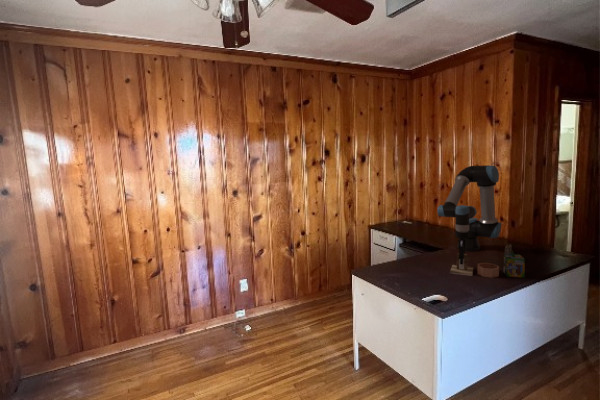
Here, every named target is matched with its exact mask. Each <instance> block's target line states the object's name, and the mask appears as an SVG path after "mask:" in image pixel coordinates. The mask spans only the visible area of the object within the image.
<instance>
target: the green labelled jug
mask: <svg viewBox="0 0 600 400" xmlns="http://www.w3.org/2000/svg"><path fill="white" fill-rule="evenodd" d="M502 259H503V262H502V263H503V267H502V268H503V269H502V271H503V274H504V276H506V278H522V279H525V278H526V274H525V273H526V266H525V265H526V263H525V262H526V261H525V260H526V258H525V257H524V256H523V255H522V254H515V253H514V251H513V249H512V250H511V254H505V253H503V258H502Z"/></svg>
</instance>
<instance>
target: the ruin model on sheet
mask: <svg viewBox="0 0 600 400" xmlns="http://www.w3.org/2000/svg"><path fill="white" fill-rule="evenodd" d="M512 246H513V245H512V244H511V243H507V244H506V245H505V247H504V254H512V252H511V250H512V251H513V249H512Z"/></svg>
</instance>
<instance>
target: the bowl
mask: <svg viewBox="0 0 600 400" xmlns="http://www.w3.org/2000/svg"><path fill="white" fill-rule="evenodd" d="M477 275H479V276H482V277H484V278H485V277H486V278H498V277H499V276H500V265H497V264H496V263H491V262H490V263H489V262H480V263H477Z"/></svg>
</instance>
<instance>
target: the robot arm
mask: <svg viewBox="0 0 600 400" xmlns="http://www.w3.org/2000/svg"><path fill="white" fill-rule="evenodd" d="M499 180H500V173H499V170H498V167H497V166H496V165H490V164H489V165H488V164H487V165H469V166H466V167H464V168H463V169H461V170H460V171H459V172H458V173H457V175H456V176H455V178H454V184H453V186H452V188H451V190H450V192H449V194H448V196H447V198H446V199H445V202H444V204H440V205H438V206H437V214H438V216H439V217H445V218H455V225H454V227H455V232H454V233H455V236H454V237H455V238H457V239H458V242H457V249H458V253H459V258H458V259H459V269H464V254H466V252H476V251H480V249H481V247H480V242H479V240H478V237H481V238H488V239H498V238H499V236H500V234H501V230H502V223H501V222H499V219H498V218H497V217H496V208H495V207H496V205H495V203H496V202H495V188H494V187H495V186H496V185H497V183H498V182H499ZM470 183H476V186H477V187H478V189H479V200H480V215H481V217H480V218H479V219H478V218H477V217H475V216H476V215H477V214H478V212H477V211H478V210H477V209H476V207H474V206H473V205H466V204H465V205H463V204H462V205H458V204H459V202H460V199H461V198H462V196H463V194H464V192H465V189H466V187H467V186H468V185H470Z"/></svg>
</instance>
